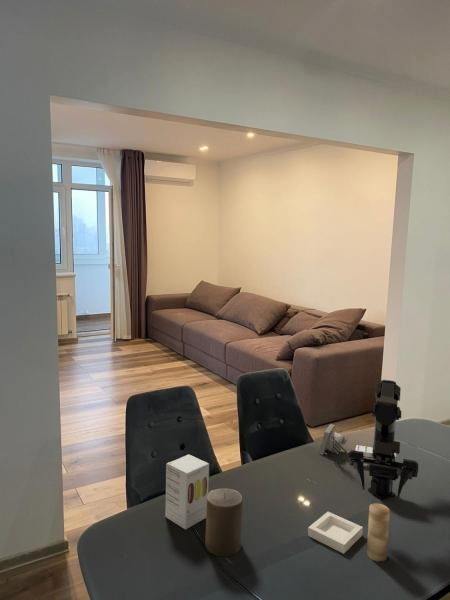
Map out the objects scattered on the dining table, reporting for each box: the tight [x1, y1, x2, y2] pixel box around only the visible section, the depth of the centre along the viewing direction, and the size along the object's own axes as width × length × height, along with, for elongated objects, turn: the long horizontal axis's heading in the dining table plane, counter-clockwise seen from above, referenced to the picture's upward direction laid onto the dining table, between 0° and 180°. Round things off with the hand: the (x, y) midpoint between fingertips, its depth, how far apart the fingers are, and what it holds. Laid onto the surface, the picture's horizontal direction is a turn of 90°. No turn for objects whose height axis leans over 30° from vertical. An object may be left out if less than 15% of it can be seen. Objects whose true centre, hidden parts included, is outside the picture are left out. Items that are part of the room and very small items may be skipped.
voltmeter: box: [318, 423, 348, 471], centre depth 174 cm, size 27×11×10 cm, turn 9°
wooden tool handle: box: [366, 502, 390, 563], centre depth 118 cm, size 5×5×13 cm
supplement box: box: [164, 454, 210, 530], centre depth 133 cm, size 10×9×17 cm
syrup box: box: [355, 445, 397, 468], centre depth 170 cm, size 6×6×14 cm
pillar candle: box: [204, 488, 243, 558], centre depth 121 cm, size 10×10×15 cm
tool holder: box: [307, 511, 364, 555], centre depth 126 cm, size 11×11×2 cm
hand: (380, 493), depth 124 cm, fingers open, 9 cm apart
